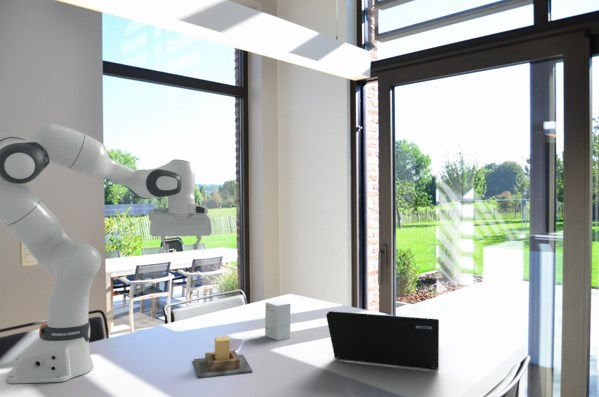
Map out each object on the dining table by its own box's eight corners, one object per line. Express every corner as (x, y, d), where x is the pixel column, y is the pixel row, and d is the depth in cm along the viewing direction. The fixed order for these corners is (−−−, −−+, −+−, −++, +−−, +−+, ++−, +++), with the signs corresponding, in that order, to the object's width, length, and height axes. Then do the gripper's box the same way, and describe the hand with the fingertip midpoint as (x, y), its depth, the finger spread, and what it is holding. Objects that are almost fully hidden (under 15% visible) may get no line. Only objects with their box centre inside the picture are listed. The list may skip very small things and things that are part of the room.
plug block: (216, 367, 140) (216, 341, 140) (214, 362, 144) (214, 337, 144) (229, 366, 142) (229, 340, 142) (227, 361, 145) (227, 336, 145)
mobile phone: (244, 338, 170) (237, 351, 155) (244, 341, 170) (237, 354, 155) (224, 338, 170) (215, 351, 155) (224, 340, 170) (215, 354, 155)
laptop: (438, 348, 165) (439, 294, 165) (439, 388, 129) (439, 319, 129) (347, 339, 174) (347, 288, 174) (323, 374, 138) (324, 310, 138)
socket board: (198, 378, 133) (198, 367, 133) (193, 360, 147) (193, 351, 147) (252, 372, 138) (252, 362, 138) (242, 356, 152) (242, 346, 152)
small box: (290, 337, 174) (291, 303, 174) (277, 340, 170) (277, 305, 170) (277, 333, 180) (278, 299, 180) (264, 335, 176) (265, 301, 176)
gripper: (148, 208, 148) (148, 251, 148) (212, 208, 154) (212, 249, 154) (148, 208, 154) (148, 249, 154) (210, 208, 160) (209, 248, 160)
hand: (180, 249), depth 154 cm, fingers open, 8 cm apart
